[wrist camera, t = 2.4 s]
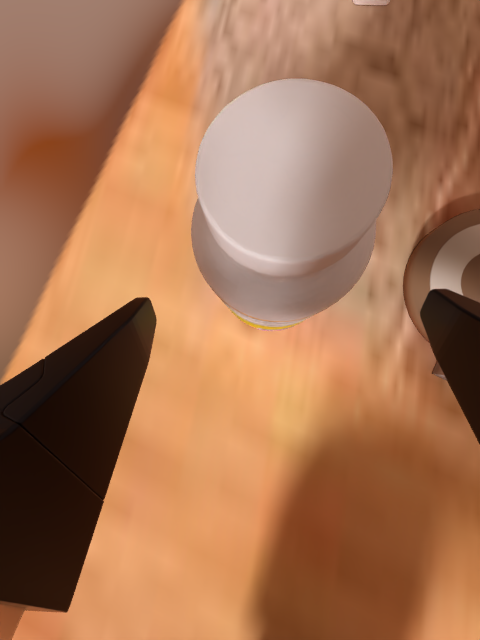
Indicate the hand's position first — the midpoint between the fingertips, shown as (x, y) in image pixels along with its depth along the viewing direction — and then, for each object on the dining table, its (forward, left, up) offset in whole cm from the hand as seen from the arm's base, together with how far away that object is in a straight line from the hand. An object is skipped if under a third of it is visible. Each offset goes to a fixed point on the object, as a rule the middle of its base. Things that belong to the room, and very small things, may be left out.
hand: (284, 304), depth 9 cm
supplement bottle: (+3, -1, -10) cm, 11 cm away
